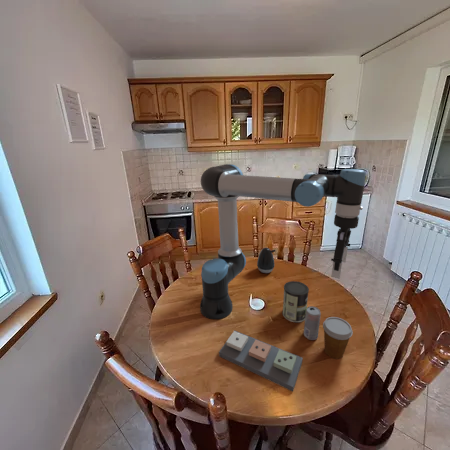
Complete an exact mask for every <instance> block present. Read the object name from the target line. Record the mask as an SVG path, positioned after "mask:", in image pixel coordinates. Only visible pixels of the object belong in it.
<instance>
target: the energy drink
mask: <svg viewBox="0 0 450 450" xmlns="http://www.w3.org/2000/svg"><path fill="white" fill-rule="evenodd" d="M321 315H322V314H321V310H320V309H319V308H318V307H316V306H310V305H309V306H307V309H306V315H305V320H304V324H303V325H304V326H303V336H304V337H305V338H307V340H310V341H314V340H317V339H318V338H319V330H320V322H321Z"/></svg>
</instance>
